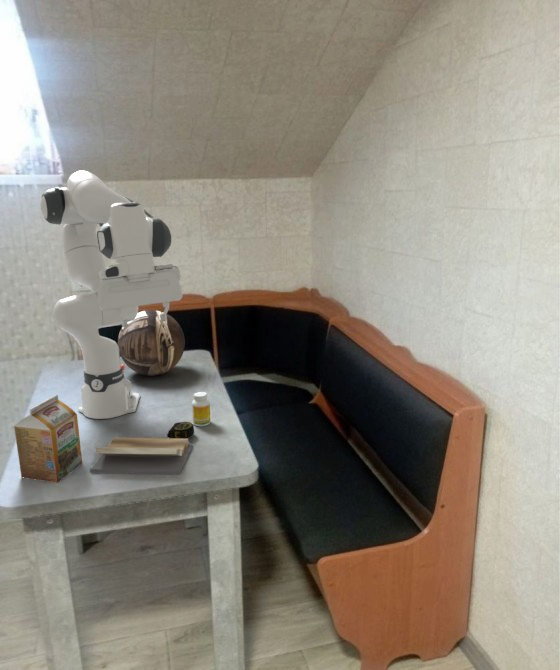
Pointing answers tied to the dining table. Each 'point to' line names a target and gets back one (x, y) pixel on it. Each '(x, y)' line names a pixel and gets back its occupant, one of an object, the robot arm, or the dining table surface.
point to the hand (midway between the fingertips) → (144, 324)
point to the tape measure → (181, 430)
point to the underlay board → (141, 463)
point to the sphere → (151, 343)
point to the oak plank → (150, 443)
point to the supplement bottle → (201, 409)
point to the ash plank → (138, 451)
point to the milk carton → (48, 441)
